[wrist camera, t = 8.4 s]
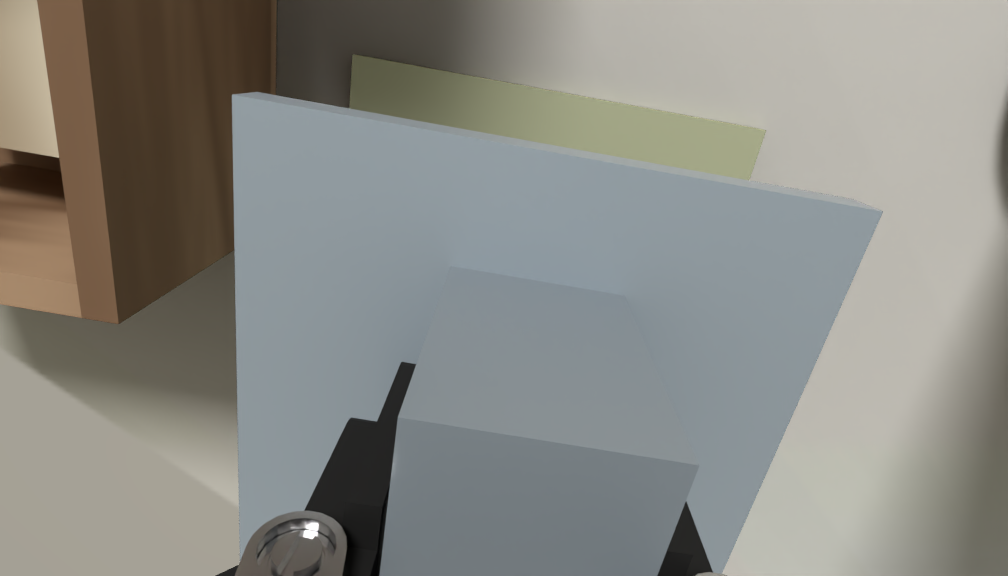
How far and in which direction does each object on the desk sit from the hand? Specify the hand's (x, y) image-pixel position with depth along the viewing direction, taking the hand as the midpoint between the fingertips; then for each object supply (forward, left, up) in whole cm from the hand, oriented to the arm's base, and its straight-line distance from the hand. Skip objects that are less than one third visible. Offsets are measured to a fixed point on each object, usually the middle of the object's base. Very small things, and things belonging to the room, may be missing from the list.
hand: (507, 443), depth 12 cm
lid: (0, 0, -3) cm, 3 cm away
